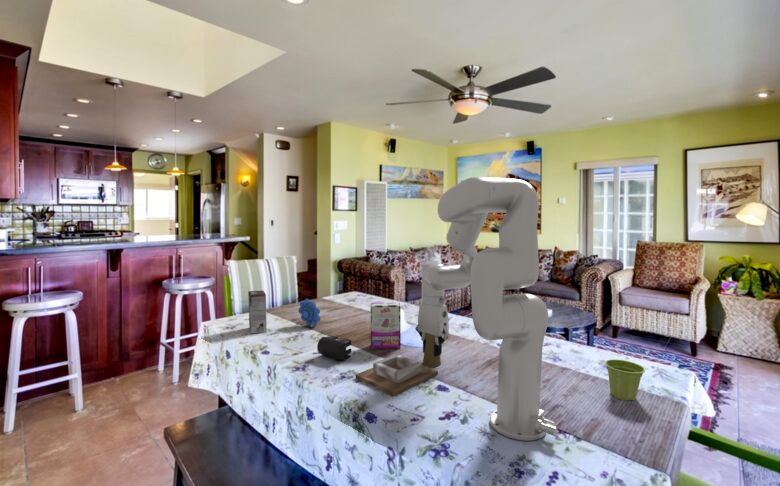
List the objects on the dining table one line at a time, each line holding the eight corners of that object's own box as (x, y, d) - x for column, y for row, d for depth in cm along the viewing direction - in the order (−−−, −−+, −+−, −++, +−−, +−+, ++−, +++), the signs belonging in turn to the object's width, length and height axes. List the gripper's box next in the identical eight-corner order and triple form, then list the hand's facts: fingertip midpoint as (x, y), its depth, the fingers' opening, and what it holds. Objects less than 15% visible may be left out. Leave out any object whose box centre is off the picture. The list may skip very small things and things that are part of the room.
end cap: (316, 357, 133) (316, 338, 132) (330, 351, 139) (330, 333, 138) (339, 364, 127) (339, 344, 127) (352, 357, 133) (352, 338, 133)
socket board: (437, 374, 119) (438, 361, 119) (393, 396, 105) (393, 381, 105) (400, 360, 131) (400, 348, 130) (355, 378, 116) (355, 364, 116)
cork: (440, 367, 125) (440, 334, 124) (421, 365, 126) (422, 332, 125) (441, 360, 131) (442, 328, 130) (423, 358, 132) (424, 327, 131)
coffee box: (248, 327, 166) (247, 291, 165) (264, 326, 169) (263, 289, 168) (250, 333, 158) (249, 295, 157) (267, 331, 161) (266, 294, 159)
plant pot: (607, 385, 113) (608, 356, 112) (645, 395, 107) (647, 364, 106) (600, 396, 106) (601, 366, 105) (640, 408, 100) (642, 375, 99)
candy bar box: (399, 344, 147) (400, 302, 145) (400, 349, 142) (401, 305, 140) (370, 344, 146) (370, 302, 145) (370, 349, 141) (370, 305, 140)
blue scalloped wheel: (292, 326, 168) (292, 299, 167) (302, 322, 174) (302, 296, 173) (314, 330, 163) (314, 302, 162) (323, 326, 169) (323, 299, 168)
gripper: (460, 302, 124) (459, 357, 125) (420, 294, 135) (419, 345, 137) (446, 306, 118) (445, 363, 120) (406, 297, 130) (405, 350, 131)
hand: (432, 353), depth 128 cm, fingers closed on cork, 4 cm apart
